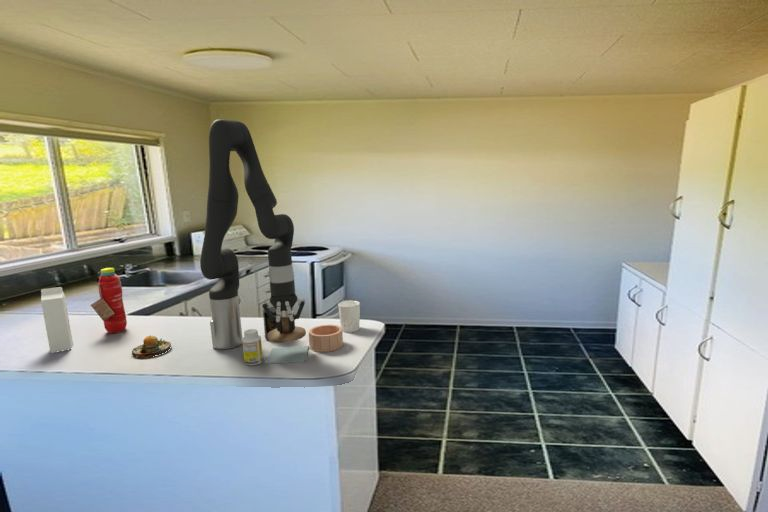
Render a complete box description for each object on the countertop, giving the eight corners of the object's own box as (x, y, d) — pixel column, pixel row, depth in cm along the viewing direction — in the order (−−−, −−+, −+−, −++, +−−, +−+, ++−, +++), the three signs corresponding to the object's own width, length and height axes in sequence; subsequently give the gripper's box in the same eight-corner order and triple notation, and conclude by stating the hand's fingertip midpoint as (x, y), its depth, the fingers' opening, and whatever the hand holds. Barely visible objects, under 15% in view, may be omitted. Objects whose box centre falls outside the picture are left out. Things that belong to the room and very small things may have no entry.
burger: (175, 344, 158) (173, 324, 157) (165, 357, 146) (162, 335, 145) (139, 347, 156) (136, 327, 155) (126, 361, 144) (123, 339, 143)
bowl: (308, 353, 144) (307, 337, 143) (311, 340, 155) (310, 325, 154) (342, 351, 145) (341, 334, 144) (343, 338, 156) (342, 323, 155)
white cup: (357, 333, 161) (356, 306, 159) (336, 332, 162) (335, 306, 161) (363, 326, 168) (362, 300, 167) (343, 325, 170) (341, 300, 168)
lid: (264, 343, 136) (262, 324, 135) (271, 330, 148) (269, 313, 147) (303, 340, 137) (302, 322, 135) (307, 328, 148) (306, 310, 147)
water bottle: (108, 338, 165) (98, 272, 161) (91, 337, 168) (81, 272, 163) (134, 327, 177) (125, 266, 172) (118, 326, 179) (109, 265, 174)
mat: (265, 364, 137) (265, 362, 137) (272, 349, 149) (272, 348, 149) (305, 361, 138) (305, 360, 138) (308, 346, 150) (308, 345, 150)
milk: (71, 349, 156) (61, 288, 152) (50, 353, 153) (39, 291, 149) (73, 344, 161) (63, 285, 157) (52, 348, 158) (42, 287, 154)
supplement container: (279, 333, 164) (277, 305, 162) (287, 338, 159) (285, 309, 157) (262, 337, 160) (259, 309, 159) (269, 342, 155) (266, 314, 153)
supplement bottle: (256, 357, 143) (253, 326, 141) (266, 361, 139) (263, 330, 137) (240, 363, 139) (237, 331, 137) (251, 367, 135) (248, 335, 133)
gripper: (256, 283, 135) (261, 337, 138) (303, 280, 136) (307, 334, 139) (261, 277, 142) (266, 329, 145) (305, 275, 143) (309, 326, 146)
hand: (286, 331), depth 142 cm, fingers closed on lid, 2 cm apart
